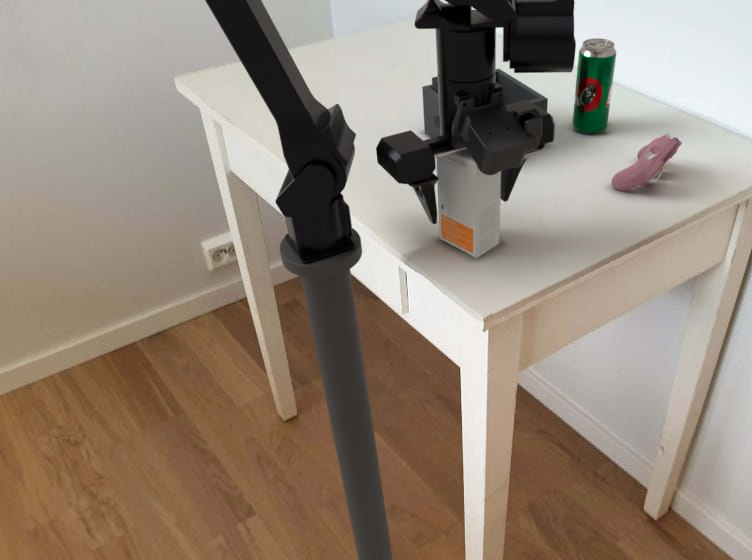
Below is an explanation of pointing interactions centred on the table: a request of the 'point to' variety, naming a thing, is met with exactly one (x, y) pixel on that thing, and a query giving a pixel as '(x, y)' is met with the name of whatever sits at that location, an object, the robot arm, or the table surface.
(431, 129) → the dark grey open bin
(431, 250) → the table surface
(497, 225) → the cosmetic box
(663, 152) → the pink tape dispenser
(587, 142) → the table surface
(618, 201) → the table surface
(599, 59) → the soda can
